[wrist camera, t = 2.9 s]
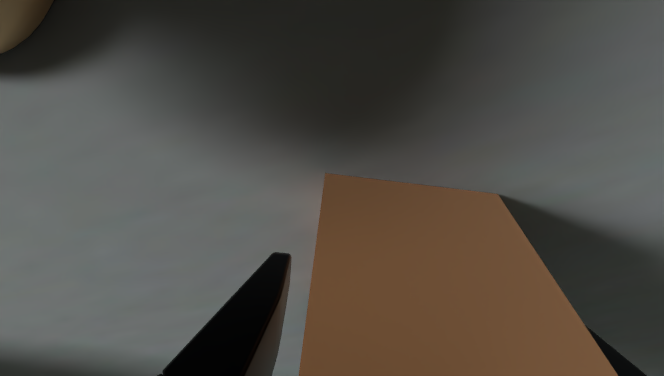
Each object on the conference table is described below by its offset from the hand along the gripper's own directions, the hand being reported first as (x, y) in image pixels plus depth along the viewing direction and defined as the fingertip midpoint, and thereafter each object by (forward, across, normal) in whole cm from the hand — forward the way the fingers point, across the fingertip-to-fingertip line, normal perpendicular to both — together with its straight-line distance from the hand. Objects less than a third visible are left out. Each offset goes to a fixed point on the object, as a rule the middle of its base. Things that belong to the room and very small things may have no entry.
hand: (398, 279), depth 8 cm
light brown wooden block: (+1, 0, 0) cm, 1 cm away
